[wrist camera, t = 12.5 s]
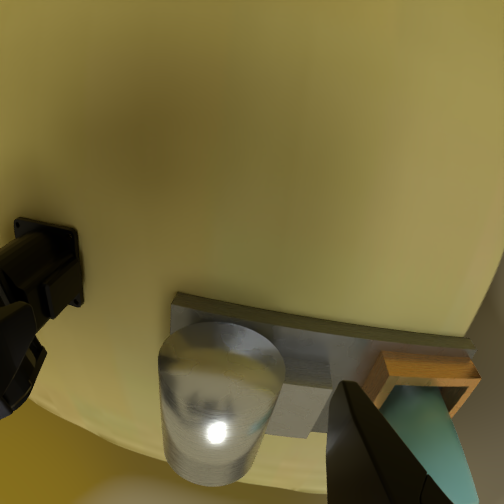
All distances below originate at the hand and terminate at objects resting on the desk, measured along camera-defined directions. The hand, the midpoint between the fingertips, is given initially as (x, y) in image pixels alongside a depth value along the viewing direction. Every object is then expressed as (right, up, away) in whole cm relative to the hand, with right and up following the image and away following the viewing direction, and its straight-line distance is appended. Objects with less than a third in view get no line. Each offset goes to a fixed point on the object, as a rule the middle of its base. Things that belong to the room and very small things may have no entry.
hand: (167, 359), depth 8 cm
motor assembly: (+8, -7, +16) cm, 19 cm away
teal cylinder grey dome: (+14, -8, +14) cm, 22 cm away
